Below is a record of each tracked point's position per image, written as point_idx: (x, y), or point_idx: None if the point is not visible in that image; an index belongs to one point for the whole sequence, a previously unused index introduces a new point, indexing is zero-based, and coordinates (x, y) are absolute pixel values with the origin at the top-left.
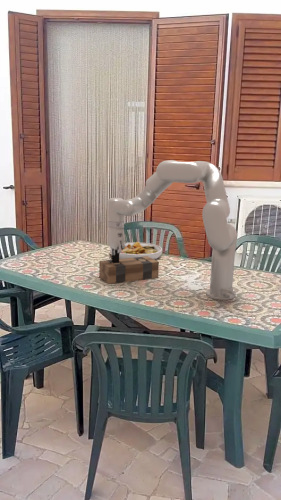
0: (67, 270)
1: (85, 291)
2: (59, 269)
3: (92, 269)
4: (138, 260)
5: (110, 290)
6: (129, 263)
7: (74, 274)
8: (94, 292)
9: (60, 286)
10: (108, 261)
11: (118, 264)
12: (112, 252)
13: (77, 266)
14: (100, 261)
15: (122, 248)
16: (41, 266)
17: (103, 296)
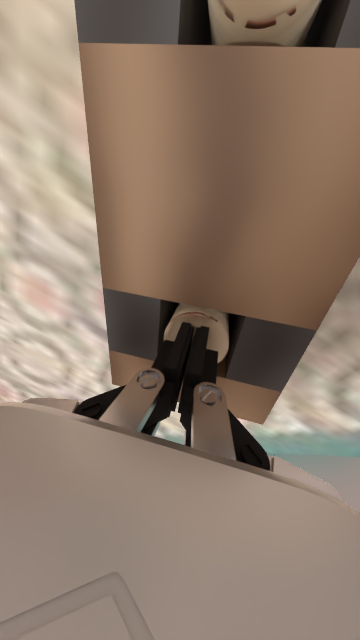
0: (47, 366)
1: (264, 436)
2: (35, 376)
3: (44, 299)
4: (254, 24)
5: (323, 391)
6: (287, 258)
7: (92, 373)
8: (293, 428)
9: (182, 444)
10: (140, 356)
11: (245, 351)
12: (156, 430)
13: (4, 322)
14: (123, 385)
15: (277, 486)
16: (5, 390)
17: (353, 435)
